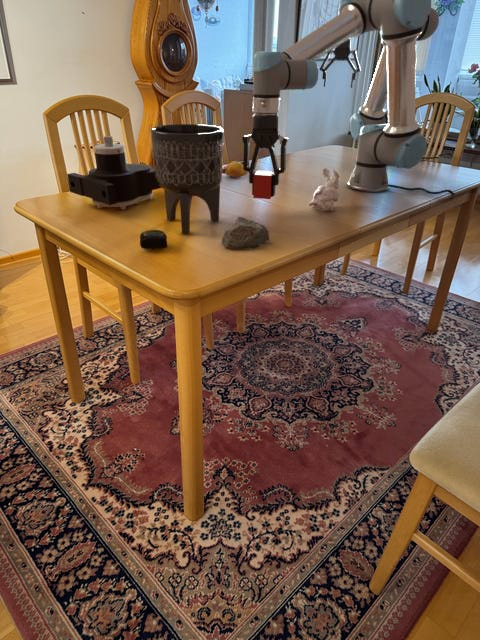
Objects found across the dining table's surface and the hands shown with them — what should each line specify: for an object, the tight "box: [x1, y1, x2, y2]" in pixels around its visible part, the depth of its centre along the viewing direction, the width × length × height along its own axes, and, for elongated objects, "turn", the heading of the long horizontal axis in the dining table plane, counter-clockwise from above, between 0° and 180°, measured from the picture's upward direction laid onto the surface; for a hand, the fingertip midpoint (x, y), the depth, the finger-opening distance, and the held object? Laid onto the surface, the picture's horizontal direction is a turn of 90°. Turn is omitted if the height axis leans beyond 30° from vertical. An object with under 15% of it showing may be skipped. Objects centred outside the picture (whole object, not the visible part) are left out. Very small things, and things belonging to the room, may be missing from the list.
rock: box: [221, 216, 270, 250], centre depth 119 cm, size 13×9×6 cm, turn 131°
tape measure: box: [139, 229, 168, 250], centre depth 117 cm, size 7×7×4 cm
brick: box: [252, 170, 274, 200], centre depth 140 cm, size 6×5×7 cm
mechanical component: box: [67, 135, 162, 210], centre depth 149 cm, size 22×21×30 cm
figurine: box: [308, 167, 340, 211], centre depth 148 cm, size 8×15×13 cm, turn 145°
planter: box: [149, 123, 225, 235], centre depth 128 cm, size 20×20×26 cm
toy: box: [222, 160, 249, 178], centre depth 190 cm, size 11×6×15 cm
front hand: (263, 194), depth 142 cm, fingers closed on brick, 5 cm apart
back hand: (338, 87), depth 231 cm, fingers open, 13 cm apart
